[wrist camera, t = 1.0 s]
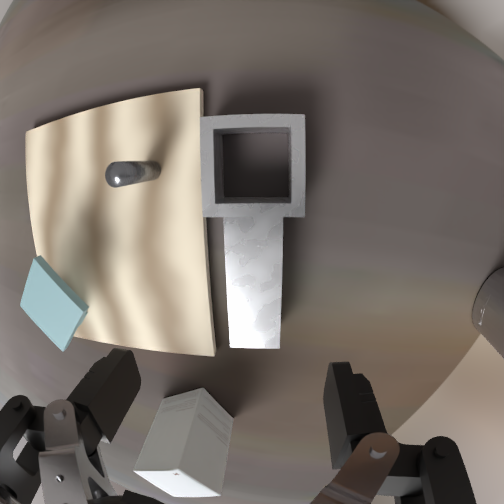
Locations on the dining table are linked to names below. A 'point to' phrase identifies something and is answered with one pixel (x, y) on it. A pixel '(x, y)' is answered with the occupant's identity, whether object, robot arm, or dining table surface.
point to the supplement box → (187, 446)
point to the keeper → (52, 303)
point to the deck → (127, 221)
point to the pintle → (131, 172)
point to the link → (252, 226)
